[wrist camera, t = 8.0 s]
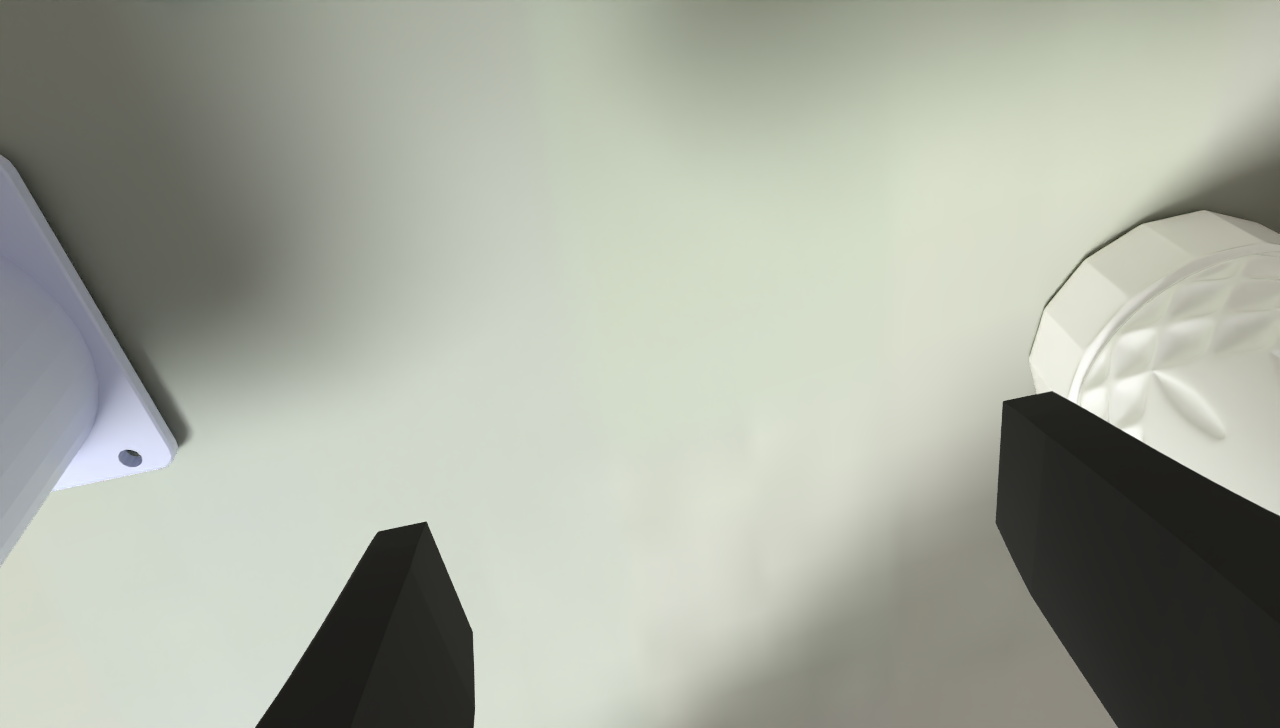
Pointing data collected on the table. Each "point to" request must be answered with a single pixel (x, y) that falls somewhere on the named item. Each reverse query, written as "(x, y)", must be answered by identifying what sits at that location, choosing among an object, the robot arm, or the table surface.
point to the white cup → (1178, 345)
